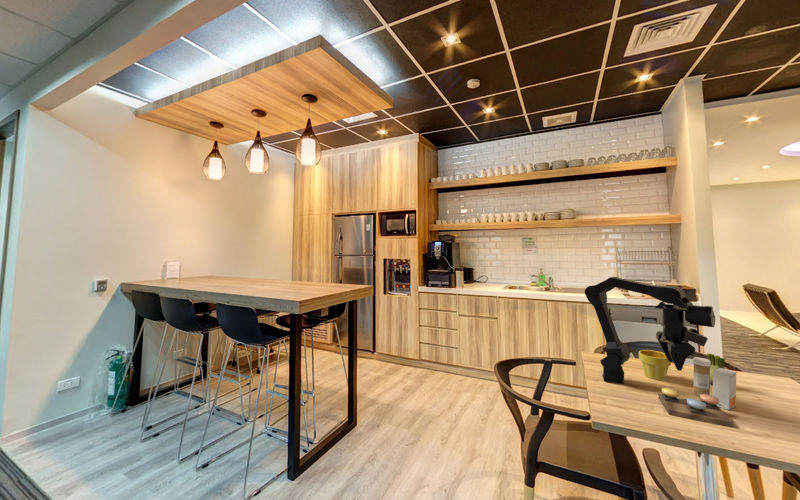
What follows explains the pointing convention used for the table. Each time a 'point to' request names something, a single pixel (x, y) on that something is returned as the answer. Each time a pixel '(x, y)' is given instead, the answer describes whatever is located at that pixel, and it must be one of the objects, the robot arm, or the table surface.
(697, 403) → the slate-blue button
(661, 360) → the plant pot
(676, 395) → the ochre button
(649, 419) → the table surface
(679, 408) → the board
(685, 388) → the table surface
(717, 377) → the skincare box
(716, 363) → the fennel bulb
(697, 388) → the sprinkles bottle
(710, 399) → the terracotta button
